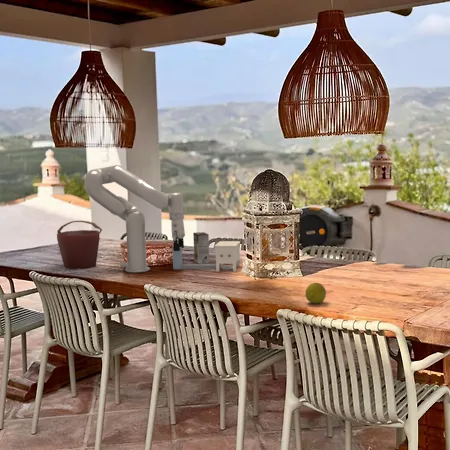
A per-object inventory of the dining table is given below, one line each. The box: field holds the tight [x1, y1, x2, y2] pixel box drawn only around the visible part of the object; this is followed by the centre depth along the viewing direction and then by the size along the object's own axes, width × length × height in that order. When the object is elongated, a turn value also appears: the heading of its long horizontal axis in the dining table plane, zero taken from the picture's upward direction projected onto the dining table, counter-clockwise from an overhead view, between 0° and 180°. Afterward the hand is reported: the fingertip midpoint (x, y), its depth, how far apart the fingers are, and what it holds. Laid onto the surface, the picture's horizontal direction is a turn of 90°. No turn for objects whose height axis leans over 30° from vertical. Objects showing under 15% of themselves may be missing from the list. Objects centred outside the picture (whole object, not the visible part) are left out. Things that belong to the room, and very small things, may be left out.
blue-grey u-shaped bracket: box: [172, 247, 216, 270], centre depth 334 cm, size 22×4×11 cm, turn 81°
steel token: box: [220, 264, 233, 271], centre depth 332 cm, size 6×6×2 cm
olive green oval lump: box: [305, 282, 327, 305], centre depth 251 cm, size 11×8×8 cm
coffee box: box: [192, 231, 210, 264], centre depth 353 cm, size 9×6×16 cm
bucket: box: [56, 220, 103, 270], centre depth 348 cm, size 24×22×25 cm
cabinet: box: [214, 240, 241, 272], centre depth 331 cm, size 11×18×13 cm, turn 171°
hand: (178, 249), depth 335 cm, fingers open, 9 cm apart
